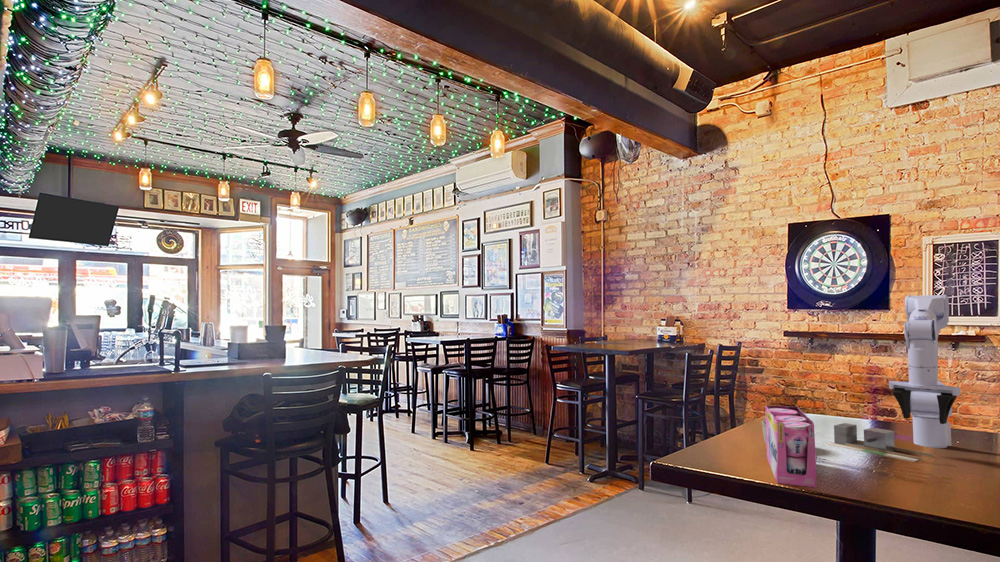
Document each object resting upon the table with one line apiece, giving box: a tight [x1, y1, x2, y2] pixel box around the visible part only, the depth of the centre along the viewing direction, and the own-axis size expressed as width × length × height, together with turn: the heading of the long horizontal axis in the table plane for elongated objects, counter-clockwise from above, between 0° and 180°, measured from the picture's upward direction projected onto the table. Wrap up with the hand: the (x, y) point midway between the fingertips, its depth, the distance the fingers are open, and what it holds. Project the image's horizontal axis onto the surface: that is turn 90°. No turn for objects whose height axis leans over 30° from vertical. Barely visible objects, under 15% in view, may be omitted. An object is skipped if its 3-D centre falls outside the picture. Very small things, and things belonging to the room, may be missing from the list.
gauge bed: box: [826, 422, 933, 463], centre depth 141 cm, size 12×22×6 cm, turn 32°
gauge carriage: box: [863, 427, 896, 452], centre depth 140 cm, size 8×5×5 cm, turn 122°
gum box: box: [764, 404, 818, 488], centre depth 126 cm, size 24×8×14 cm, turn 159°
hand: (924, 420), depth 136 cm, fingers open, 7 cm apart
